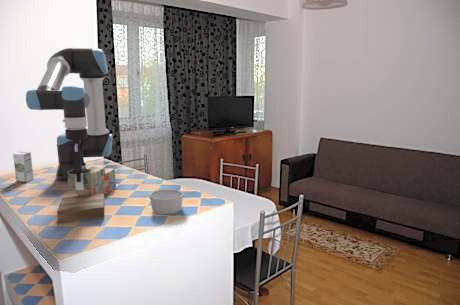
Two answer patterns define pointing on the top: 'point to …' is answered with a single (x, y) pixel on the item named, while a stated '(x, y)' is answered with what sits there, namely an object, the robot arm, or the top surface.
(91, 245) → the top surface
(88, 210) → the walnut block
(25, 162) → the syrup box
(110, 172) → the stack of blocks
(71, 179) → the vessel
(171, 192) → the ramekin
